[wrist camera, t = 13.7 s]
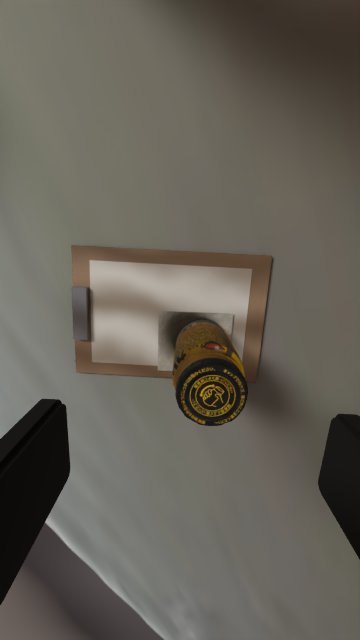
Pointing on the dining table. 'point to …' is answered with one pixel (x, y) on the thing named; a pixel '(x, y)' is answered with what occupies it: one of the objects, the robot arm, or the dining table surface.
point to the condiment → (202, 365)
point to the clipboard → (160, 303)
